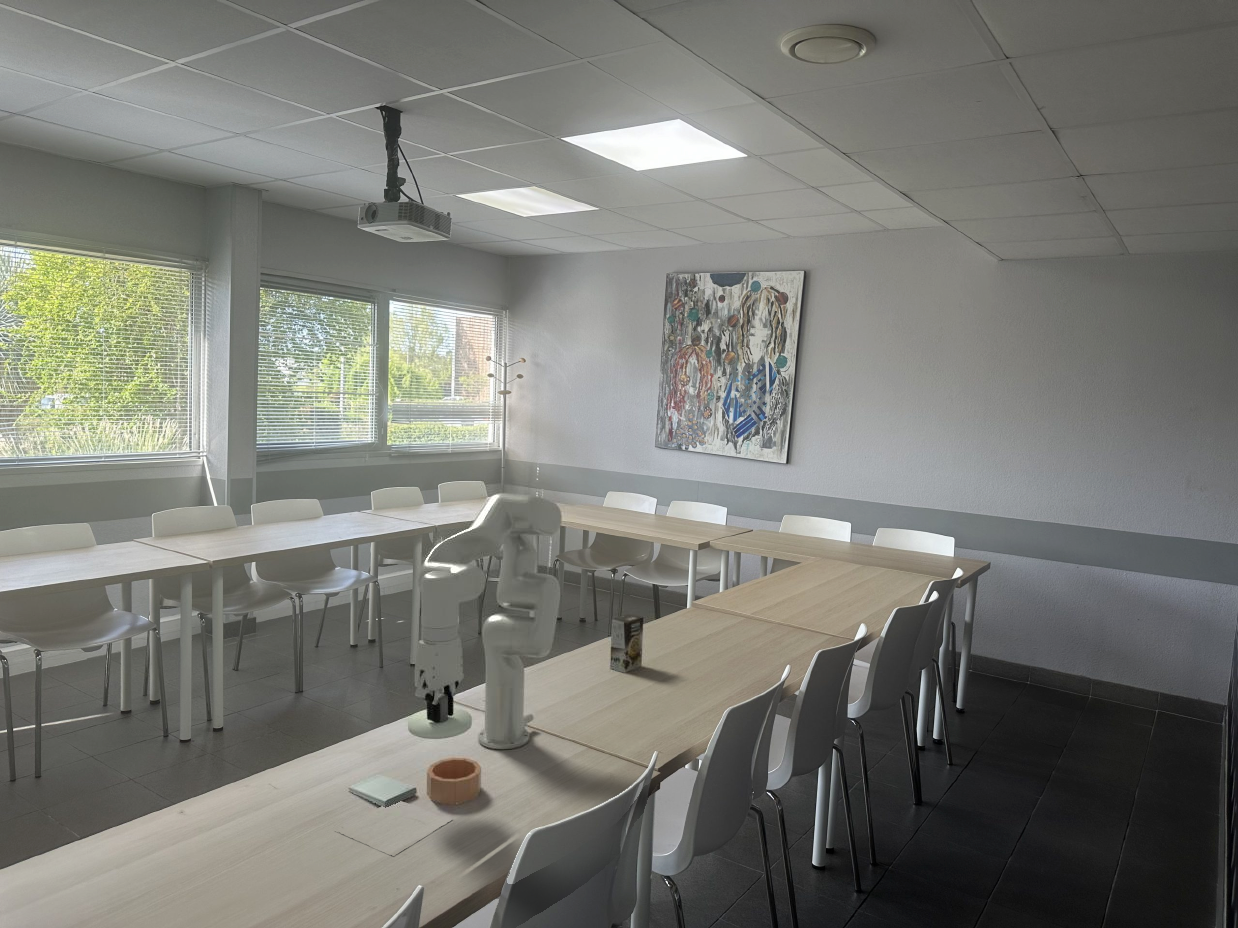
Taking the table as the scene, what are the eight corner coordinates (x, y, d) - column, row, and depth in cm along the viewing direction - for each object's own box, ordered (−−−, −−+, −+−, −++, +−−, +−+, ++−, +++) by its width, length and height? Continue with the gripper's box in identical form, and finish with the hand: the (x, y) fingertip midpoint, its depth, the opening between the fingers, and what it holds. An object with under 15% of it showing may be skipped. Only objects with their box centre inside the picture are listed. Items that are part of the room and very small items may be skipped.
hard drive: (416, 786, 176) (380, 772, 183) (384, 800, 169) (348, 785, 177) (416, 794, 176) (380, 780, 183) (384, 808, 169) (348, 793, 177)
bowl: (452, 777, 185) (452, 753, 185) (490, 790, 180) (490, 766, 179) (416, 796, 176) (416, 771, 175) (455, 811, 170) (456, 785, 170)
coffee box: (625, 673, 258) (627, 622, 257) (609, 668, 262) (610, 618, 260) (642, 666, 265) (644, 616, 264) (626, 661, 269) (628, 613, 268)
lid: (439, 707, 182) (438, 680, 181) (484, 721, 175) (484, 693, 174) (394, 728, 171) (394, 699, 170) (441, 744, 164) (441, 714, 163)
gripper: (454, 618, 179) (454, 700, 182) (397, 638, 166) (397, 726, 168) (480, 625, 176) (480, 708, 178) (424, 645, 162) (424, 736, 164)
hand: (440, 716), depth 173 cm, fingers closed on lid, 3 cm apart
